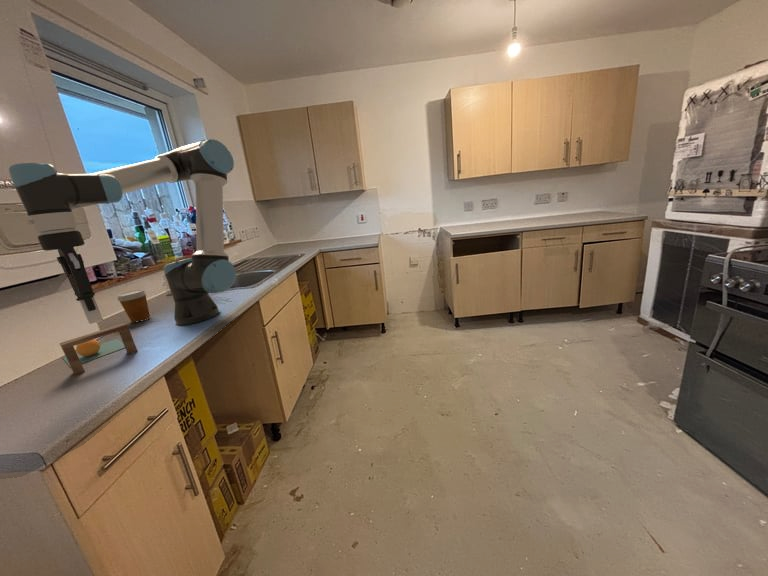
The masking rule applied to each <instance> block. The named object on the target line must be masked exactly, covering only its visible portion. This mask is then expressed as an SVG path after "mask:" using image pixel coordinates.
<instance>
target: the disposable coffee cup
mask: <svg viewBox="0 0 768 576" xmlns="http://www.w3.org/2000/svg"><path fill="white" fill-rule="evenodd" d="M116 300H117V301H119V303H120V305H121V306H122V308H123V309H124V311H125V313H126V315H127V317H128V319H129V320H130V322H131V323H132V322H136V321H141V320H145V319H147V318H149V317H150V318H151V316H150V315H151V314H150V310H149V304H148V301H147V292H146V291H145V290H144V288H143V289H135V290H129V291H127V292H123V293H119V294H118V295H117V299H116ZM150 318H149V319H150ZM147 320H148V319H147ZM145 321H146V320H145Z"/></svg>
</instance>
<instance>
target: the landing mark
mask: <svg viewBox="0 0 768 576" xmlns="http://www.w3.org/2000/svg"><path fill="white" fill-rule="evenodd" d="M101 344H102V345H101V346H100V350H99V351H98V352H97V353H96V354H95V355H92V356H89V357H85V356H80V357H78V358H79V360H80V362H81V364H82V363H83V364H85V363H88V362H91V361H93V359H94V360H97V359H98V358H102V357H105V356H107V355H110V354H112V353H115V352H119V351H121V350H123V349H125V346H124V344H123V341H121V340H119V339H118V338H115V339H112V340H108V341H107V342H106V341H105V342H103V343H101ZM63 357H64V358H63ZM63 357H62V359H63V361H65V363H66V364H67V363H68V364H67V365H68V366H69V367H70V364H69V362H68V360H67V358H66V357H65V356H63ZM83 364H82V365H83Z"/></svg>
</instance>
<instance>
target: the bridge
mask: <svg viewBox="0 0 768 576" xmlns="http://www.w3.org/2000/svg"><path fill="white" fill-rule="evenodd" d="M117 332H118V334H119V336H120V338H121V340H122V341H121V342H123V344H124V346H125V348H124V349H125V351H126V353H127V354H129V355H132V354H134V353H138V348H137V346H136V343H135V341H134V339H133V335H132V333H131V331H130V328H129V326H128V324H127V323H125V322H122V323H119V324H116V325H113V326H111V327H108V328H104V329H101V330H98V331H93V332H91V333H89V334H86V335H85V334H84V335H82V336H79V337H75V338H72V339H69V340H66V341H65V340H64V341H63V342H59V345H60V347H61V349H62V351H63V354H64V357H65V356H66V358H67V360H68V362H69V364H70V366H69V368H70V369H71V371H72V373H73V374H74V375H75V376H77V375H79V374H82V373H85V372H86V371H85V369H84V366H83V364H81V362H80V360H79V358H78V355H77V353H76V352H77V351H76V348H75V347H74V346H77V345H78V344H81V343H84V342H87V341H90V340H93V339H94V340H97V339H100V338H102V337H106V336H108V335H111V334H114V333H117Z"/></svg>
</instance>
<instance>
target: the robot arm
mask: <svg viewBox="0 0 768 576" xmlns="http://www.w3.org/2000/svg"><path fill="white" fill-rule="evenodd" d="M234 166H235V162H234V158H233V155H232V153H231V152H230V150H229V149H228V147H227V146H226V145H225V144H224V143H222V142H221V141H219V140H218V139H215V138H213V139H212V138H211V139H210V138H209V139H202V140H200V141H198V142H194V143H190V144H187V145H183V146H180V147H178V148H175V149H173V150H171V151H168V152H165V153H162V154H158V155H156V156H155V158H154V159H150V160H145V161H142V162H137V163H133V164H127V165H124V166H120V167H116V168H115V167H114V168H110V169H107V170H103V171H102V170H101V171H97V172H94V173H61V172H60V173H59V172H58V171H57V170H56V168H55V167H54V165H52V164H51V163H43V162H23V163H22V162H20V163H15V164H12V165H10V166H9V167H8V172H9V174H10V178H11V181H12V184H13V188H15V190H16V193H17V194H18V196H19V199H20V201H21V203H22V205H23V207H24V209H25V211H26V214H27V216H28V218H29V219H28V220H26V223H27V225H32V228H33V230H34V231H35V233H37V234H38V233H39V235H38V236H37V239H38V242H39V244H40V246H41V249H42V250H43V251H47V252H48V251H55V250H57V252H58V255H59V256H57V257H56V260H57V262H58V264H60V266H61V269H62V270H63V272H64V274H65V275H66V277H67V279H68V282H69V284H70V286H71V288H72V291H73V292H74V295H75V297H76V298H75V301H77V302H79V303H80V305H81V308H82V311H83V312H84V315H85V317H86V319H87V323H88V324H89V325H92V324H94V323H98V322H101V321H104V318H103V316H102V314H101V311H100V309H99V305H98V303H97V301H96V299H95V297H94V296H96V294H95V292H94V290H93V287H92V284H91V282H90V279H89V275H88V273H87V270H86V268H85V263H84V260H83V257H82V255H81V253H77V251H76V250H75V248H74V247H81V246H84V245H85V241H84V238H83V235H82V232H81V231H79V230H77V229H78V228H79V225H78V221H77V220H76V217H75V215H74V212H73V211H72V210H74V209H75V210H76V209H79V208H86V207H90V206H95V205H103V204H107V205H109V204H114V203H120V201H121V200H122V199H123V196H124V195H125V194H129V193H132V192H135V191H136V192H137V191H139V190H143V189H146V188H149V187H152V186H153V187H154V186H156V185H159V184H163V183H170V184H174V183H177V182H183V181H189V180H190V181H193V183H194V184H195V185H194V186H195V187H194V188H195V228H196V229H195V230H196V232H195V233H196V235H195V236H196V237H195V238H196V239H195V240H196V250H195V251H194V252H193V253H192V254H191V257H189V258H184V259H181V260H176V261H173V262H170V263H166V264H165V265H164V266H163V272H164V277H165V278H166V281H167V284H168V287H169V290H170V293H171V296H172V299H173V301H174V321H175V324H176V325H179V326H185V325H186V326H187V325H191V324H196V323H200V322H203V320H204V321H207V320H209V319H211V318H210V317H212V316H214V315H216V314H217V313H218V312H219V313H220V309H219V307H218V305H217V303H215V301H214V300H213V299H212V297H211V296H210V294H219V293H224V292H226V291H228V290H229V289H231V287H232V286H233V285H234V283H235V280H236V277H237V272H236V268H235V266H233V263H232V262H231V261H229V255H228V254H227V253H226V252H225V251H224V249H225V244H224V242H225V241H224V201H223V198H224V196H223V194H224V192H223V189H224V186H225V185H226V184H227V183H228V174H230V173H231V171H233V169H234ZM219 313H218V314H219ZM218 314H217V315H218ZM217 315H216V316H217ZM214 317H215V316H214ZM208 318H209V319H208ZM212 318H213V317H212ZM206 319H207V320H206Z"/></svg>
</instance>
